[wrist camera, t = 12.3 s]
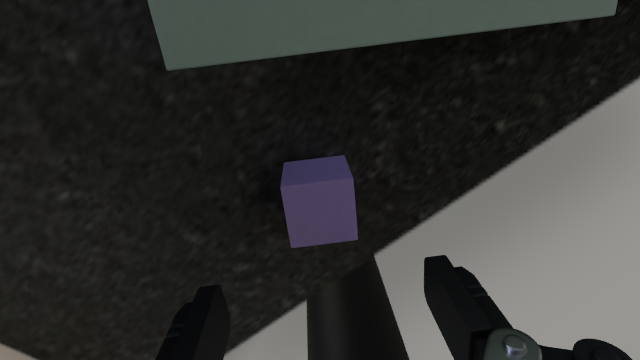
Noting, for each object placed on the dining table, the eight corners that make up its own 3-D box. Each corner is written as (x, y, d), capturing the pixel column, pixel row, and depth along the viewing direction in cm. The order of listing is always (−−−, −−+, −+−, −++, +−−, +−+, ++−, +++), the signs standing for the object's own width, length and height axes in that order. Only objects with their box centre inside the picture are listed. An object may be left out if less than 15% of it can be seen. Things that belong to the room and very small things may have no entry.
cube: (349, 208, 23) (358, 240, 20) (292, 215, 23) (290, 248, 20) (344, 154, 22) (353, 177, 18) (283, 162, 22) (280, 187, 18)
